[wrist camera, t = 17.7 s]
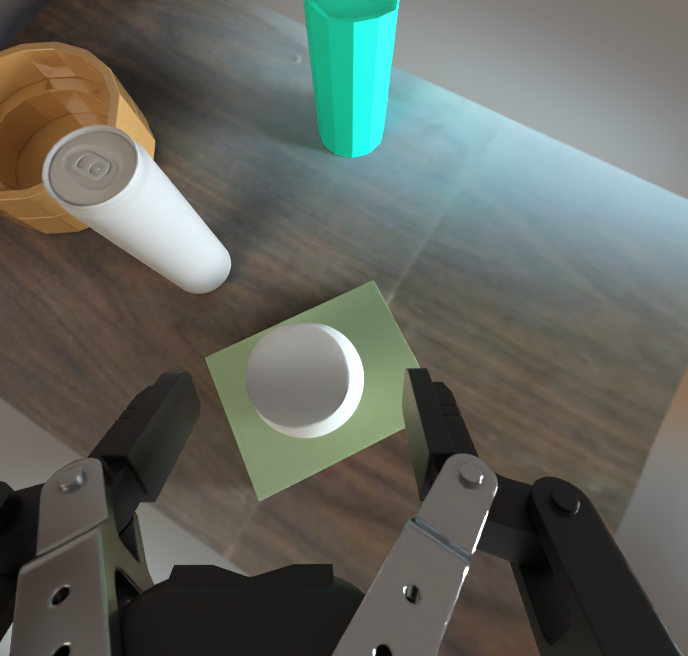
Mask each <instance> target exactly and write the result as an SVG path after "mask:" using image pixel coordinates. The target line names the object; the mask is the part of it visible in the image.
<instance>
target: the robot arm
mask: <svg viewBox="0 0 688 656" xmlns="http://www.w3.org/2000/svg"><path fill="white" fill-rule="evenodd" d="M402 411H403V417H404V422H405V427H406V432H407V437H408V442H409V447H410V452H411V457H412V462H413V467H414V472H415V477H416V482H417V487H418V492H419V497H420V501H423V503H422V505H421V507H420V509H419V510H418V512H417V514H416V516H415V517H414V518H411V519H410V520H409V521H408V522H407V523H406V525H405V527H404V528H403V530H402V532H401V534H400V535H399V537H398V539H397V541H396V542H395V544H394V546H393V548H392V549H391V551H390V553H389V555H388V556H387V558H386V560H385V562H384V564H383V565H382V567H381V569H380V571H379V572H378V574H377V576H376V578H375V579H374V581H373V583H372V585H371V587H370V588H369V590H368V592H367V594H366V595H365V594H364V593H363V592H362V591H361V590H359V589H358V588H357V587H355V586H354V585H352V584H351V583H349V582H347V581H345V580H343V579H341V578H338V577H335V576H333V566H332V564H293V565H290V566H286V567H283V568H280V569H277V570H273V571H270V572H267V573H264V574H260V575H257V576H253V577H247V576H244V575H241V574H238V573H235V572H232V571H229V570H226V569H223V568H220V567H218V566H214V565H174V567H173V570H172V572H171V574H170V577H169V579H167V580H165V581H163V582H160V583H158V584H156V585H154V583H153V581H152V579H151V576H150V574H149V571H148V568H147V564H146V558H145V553H144V547H143V542H142V537H141V532H140V526H139V521H138V516H137V514H136V512H135V510H136V509H137V507H138V505H139V503H140V502H155V501H156V499H157V497H158V496H159V494H160V492H161V490H162V488H163V486H164V484H165V482H166V480H167V478H168V476H169V474H170V472H171V470H172V468H173V466H174V464H175V462H176V460H177V458H178V456H179V454H180V453H181V451H182V449H183V447H184V445H185V443H186V441H187V439H188V437H189V435H190V433H191V431H192V429H193V427H194V425H195V423H196V421H197V419H198V417H199V414H200V400H199V397H198V395H197V392H196V389H195V386H194V384H193V381H192V378H191V376H190V374H189V373H188V372H187V371H168V372H164V373H162V375H161V376H160V377H159V379H158V380H157V381H156V382H155V384H154V385H153V386H148V387H147V388H146V389H144V390H143V391H142V392H140V393H139V394H138V395H136V396H135V398H134V399H133V400H132V401H131V403H130V404H129V405H128V407H127V410H124V412H123V413H122V414H121V415H120V417H119V420H116V422H115V423H114V424H113V426H112V427H111V428H110V429H109V431H108V432H107V433H106V434H105V436H104V437H103V438H102V440H101V441H100V442H99V443H98V445H97V446H96V447H95V448H94V450H93V451H92V452H91V453H90V455H89V456H88V457H87V458H83V459H80V460H76V461H74V462H72V463H69V464H68V465H66V466H64V467H62V468H61V469H59V470H58V471H57V472H56V473H54V474H53V475H52V476H51V477H50V478H49V479H48V480H47V482H46V483H43V484H39V485H35V486H32V487H29V488H25V489H21V490H18V491H14V490H13V489H12V488H11V487H10V486H9V485H8V484H6V483H5V482H2V481H0V642H1V640H2V638H3V637H4V635H5V634H6V632H7V630H8V629H9V627H10V626H11V624H12V623H13V627H12V637H11V646H10V655H9V656H436V654H437V652H438V649H439V646H440V644H441V641H442V638H443V635H444V633H445V630H446V627H447V625H448V622H449V619H450V616H451V614H452V611H453V608H454V606H455V603H456V600H457V598H458V595H459V592H460V589H461V587H462V584H463V581H464V579H465V576H466V573H467V570H468V568H469V565H470V562H471V559H472V556H473V553H474V550H475V549H477V550H480V551H482V552H485V553H488V554H491V555H494V556H497V557H499V558H502V559H505V560H508V561H510V564H511V567H512V570H513V573H514V576H515V579H516V582H517V585H518V589H519V592H520V595H521V598H522V601H523V604H524V607H525V610H526V613H527V616H528V619H529V622H530V625H531V628H532V631H533V634H534V637H535V641H536V644H537V647H538V650H539V653H540V656H683V655H682V653H681V651H680V650H679V648H678V647H677V645H676V643H675V641H674V640H673V638H672V636H671V635H670V633H669V631H668V630H667V628H666V626H665V625H664V623H663V622H662V620H661V618H660V616H659V615H658V613H657V611H656V610H655V608H654V606H653V605H652V603H651V601H650V600H649V598H648V596H647V595H646V593H645V591H644V590H643V588H642V586H641V585H640V583H639V581H638V580H637V578H636V576H635V575H634V573H633V571H632V569H631V568H630V567H629V564H628V563H627V561H626V560H625V558H624V556H623V554H622V553H621V551H620V549H619V548H618V546H617V545H616V543H615V541H614V539H613V538H612V536H611V534H610V533H609V531H608V529H607V528H606V526H605V524H604V523H603V521H602V519H601V518H600V516H599V514H598V513H597V511H596V509H595V508H594V506H593V504H592V503H591V501H590V500H589V499H588V497H587V496H586V495H585V494H584V493H583V492H582V491H581V490H579V489H578V488H577V487H575V486H574V485H572V484H571V483H569V482H567V481H565V480H562V479H559V478H555V477H543V478H540V479H538V480H537V481H536V482H535V483H534V484H533V485H529V484H526V483H522V482H519V481H515V480H512V479H508V478H505V477H503V476H500V475H498V474H497V473H495V472H494V471H493V470H492V469H491V467H490V466H489V465H488V464H487V463H486V462H484V461H483V460H482V459H480V458H479V456H478V454H477V452H476V450H475V447H474V445H473V442H472V440H471V437H470V435H469V433H468V430H467V428H466V425H465V423H464V420H463V418H462V416H461V413H460V410H459V408H458V406H457V403H456V401H455V398H454V396H453V393H452V392H451V391H450V390H449V388H448V387H447V386H446V385H445V384H444V383H443V382H432V381H431V378H430V375H429V372H428V370H427V368H406V370H405V376H404V386H403V396H402Z"/></svg>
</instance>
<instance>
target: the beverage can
mask: <svg viewBox="0 0 688 656" xmlns="http://www.w3.org/2000/svg"><path fill="white" fill-rule="evenodd" d="M42 180H43V184H44V187H45V189H46V190H47V192H48V193H49V195H50V196H51V197H52V198H53V199H54V200H56V201H57V202H58V203H59V204H60V205H61V207H62V208H63V209H65V210H66V211H67V212H69V213H70V214H71V215H72V216H74V217H75V218H77V219H78V220H80V221H81V222H83V223H84V224H86V225H87V226H89V227H90V228H92V229H93V230H95V231H96V232H98V233H99V234H101V235H102V236H104V237H105V238H107V239H108V240H110V241H111V242H113V243H114V244H116V245H117V246H119V247H120V248H122V249H123V250H125V251H126V252H128V253H129V254H131V255H132V256H134V257H135V258H137V259H138V260H140V261H141V262H143V263H144V264H146V265H147V266H149V267H150V268H152V269H153V270H155V271H156V272H158V273H159V274H161V275H162V276H164V277H166V278H167V279H169V280H170V281H172V282H173V283H175V284H176V285H178V286H179V287H181V288H182V289H184V290H185V291H188V292H190V293H196V294H202V293H208V292H210V291H213V290H215V289H216V288H218V287H219V286H220V285H221V284H222V283H223V282H224V281H225V280H226V278H227V276H228V274H229V272H230V268H231V260H230V256H229V253H228V251H227V250H226V249H225V247H224V246H223V245H222V244H221V242H220V241H219V240H218V239H217V237H216V236H215V235H214V234H213V233H212V231H211V230H210V229H209V228H208V226H207V225H206V224H205V223H204V222H203V220H202V219H201V218H200V217H199V215H198V214H197V213H196V212H195V211H194V209H193V208H192V207H191V206H190V204H189V203H188V202H187V201H186V200H185V198H184V197H183V196H182V195H181V193H180V192H179V191H178V190H177V189H176V187H175V186H174V185H173V184H172V182H171V181H170V180H169V179H168V178H167V176H166V175H165V174H164V173H163V171H162V170H161V169H160V168H159V167H158V165H157V164H156V163H155V162H154V160H153V159H152V158H151V157H150V156H149V154H148V153H147V152H146V151H145V149H144V148H143V147H142V146H141V145H139V144H138V143H137V142H135V141H134V140H133V139H132V138H131V137H130V136H129V135H128V134H126V133H125V132H124V131H122V130H121V129H118V128H115V127H112V126H108V125H92V126H85V127H82V128H80V129H77V130H74V131H72V132H70V133H69V134H67V135H65V136H64V137H62V138H61V139H60V140H59V141H58V142H57V143H56V144H55V145H54V146H53V147H52V149H51V150H50V151H49V153H48V154H47V156H46V159H45V161H44V164H43V168H42Z"/></svg>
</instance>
